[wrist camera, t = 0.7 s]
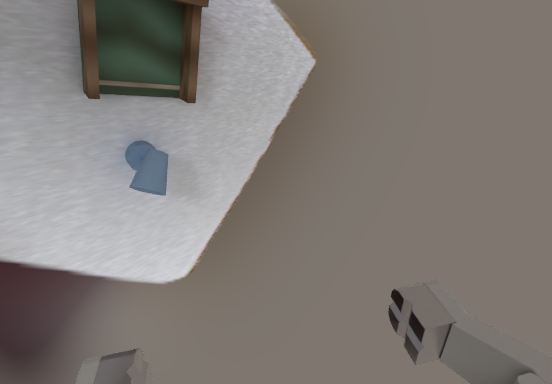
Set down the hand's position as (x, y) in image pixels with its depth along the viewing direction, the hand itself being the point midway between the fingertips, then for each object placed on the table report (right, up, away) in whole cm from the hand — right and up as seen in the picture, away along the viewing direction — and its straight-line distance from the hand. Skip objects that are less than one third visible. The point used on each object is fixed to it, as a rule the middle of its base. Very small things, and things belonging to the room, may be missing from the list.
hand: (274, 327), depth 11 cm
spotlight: (-22, +10, +41) cm, 48 cm away
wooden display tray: (-19, +25, +34) cm, 46 cm away
